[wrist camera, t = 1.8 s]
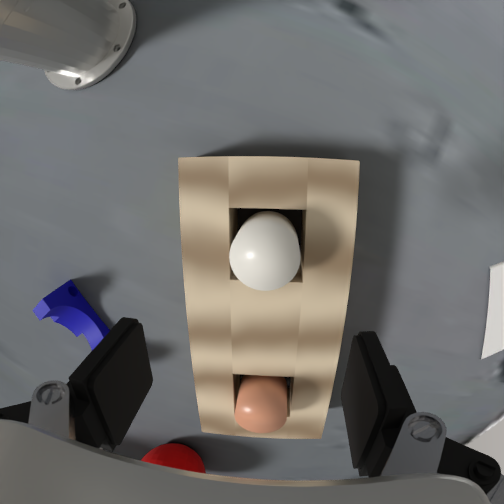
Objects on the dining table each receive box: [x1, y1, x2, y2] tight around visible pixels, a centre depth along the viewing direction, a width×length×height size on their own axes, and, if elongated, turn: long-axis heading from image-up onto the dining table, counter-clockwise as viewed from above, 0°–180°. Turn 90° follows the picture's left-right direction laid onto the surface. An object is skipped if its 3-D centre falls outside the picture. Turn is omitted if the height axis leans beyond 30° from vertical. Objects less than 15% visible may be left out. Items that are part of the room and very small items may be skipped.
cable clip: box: [33, 280, 110, 350], centre depth 33 cm, size 12×4×6 cm, turn 35°
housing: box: [178, 156, 360, 439], centre depth 30 cm, size 30×14×5 cm, turn 0°
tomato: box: [141, 443, 206, 474], centre depth 36 cm, size 10×11×11 cm
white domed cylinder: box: [229, 211, 301, 291], centre depth 24 cm, size 5×5×5 cm
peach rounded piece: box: [234, 375, 287, 433], centre depth 29 cm, size 5×5×5 cm
